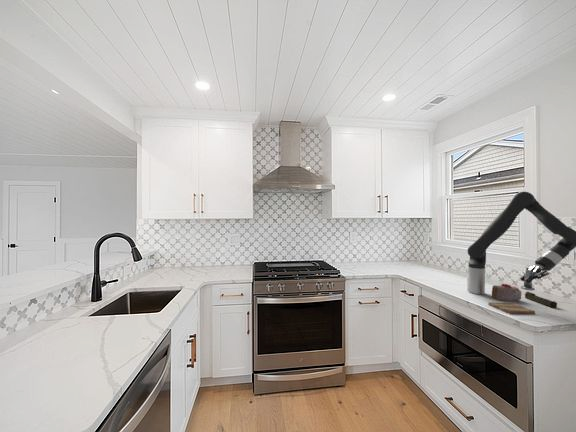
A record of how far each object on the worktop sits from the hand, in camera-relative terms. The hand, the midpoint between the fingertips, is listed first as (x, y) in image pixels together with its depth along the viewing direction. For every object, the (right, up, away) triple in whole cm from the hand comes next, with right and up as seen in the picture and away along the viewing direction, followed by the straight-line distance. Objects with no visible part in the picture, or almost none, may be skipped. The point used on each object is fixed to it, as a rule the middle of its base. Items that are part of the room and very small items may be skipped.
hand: (524, 280), depth 147 cm
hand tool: (+17, -16, +9) cm, 25 cm away
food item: (+2, -16, +15) cm, 22 cm away
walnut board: (-10, -15, -3) cm, 19 cm away
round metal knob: (+2, -5, 0) cm, 5 cm away
